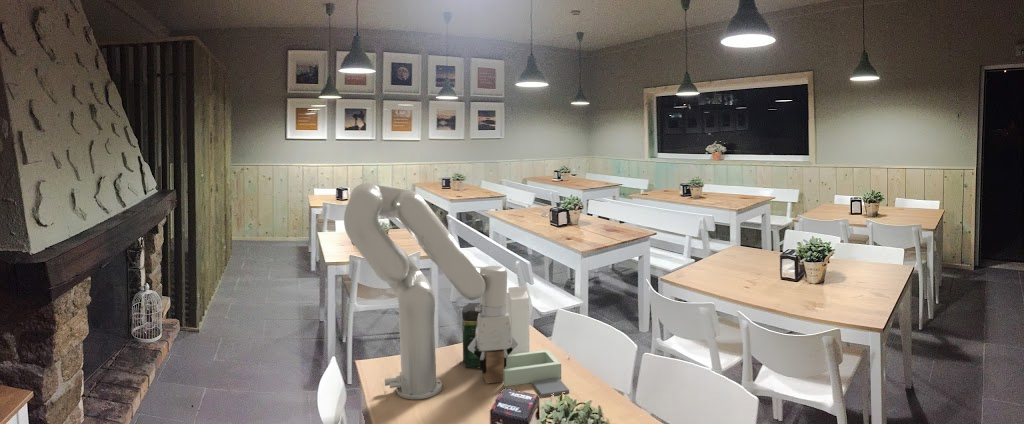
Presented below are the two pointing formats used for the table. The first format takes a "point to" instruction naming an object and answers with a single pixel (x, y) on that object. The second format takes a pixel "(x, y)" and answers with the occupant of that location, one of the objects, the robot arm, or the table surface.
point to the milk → (519, 317)
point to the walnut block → (494, 366)
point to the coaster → (550, 387)
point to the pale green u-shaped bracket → (530, 367)
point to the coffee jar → (469, 334)
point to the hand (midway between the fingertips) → (492, 369)
